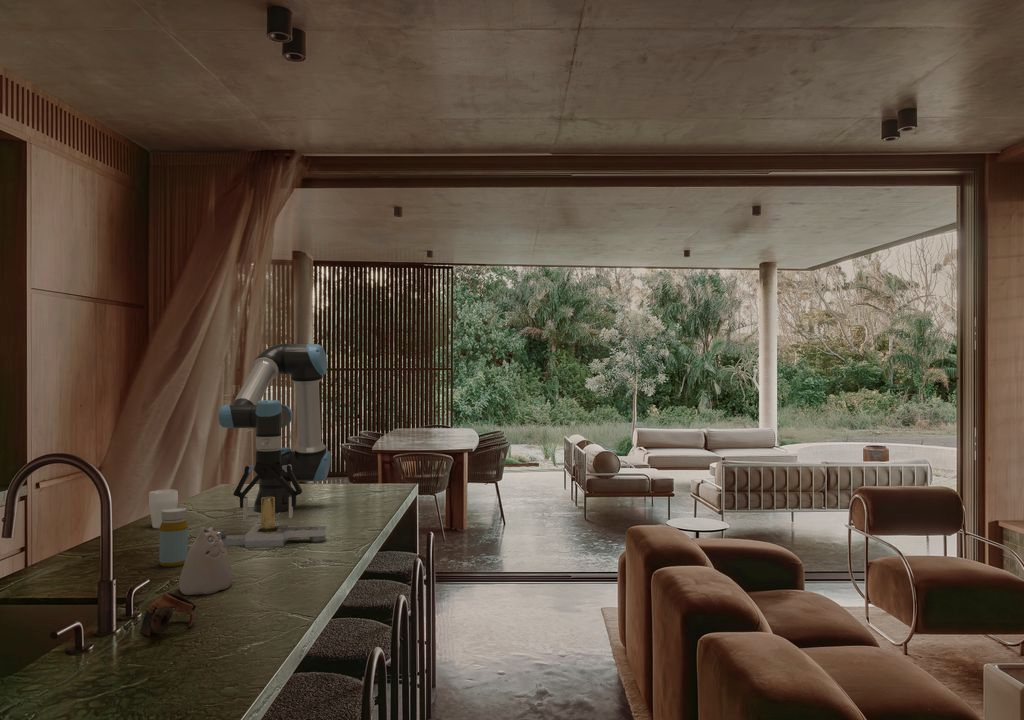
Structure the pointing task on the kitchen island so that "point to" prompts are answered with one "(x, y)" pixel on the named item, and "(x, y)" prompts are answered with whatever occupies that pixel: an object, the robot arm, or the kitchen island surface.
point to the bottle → (173, 537)
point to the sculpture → (206, 565)
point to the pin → (268, 514)
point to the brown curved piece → (165, 612)
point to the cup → (161, 504)
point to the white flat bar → (273, 536)
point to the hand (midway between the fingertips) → (268, 517)
